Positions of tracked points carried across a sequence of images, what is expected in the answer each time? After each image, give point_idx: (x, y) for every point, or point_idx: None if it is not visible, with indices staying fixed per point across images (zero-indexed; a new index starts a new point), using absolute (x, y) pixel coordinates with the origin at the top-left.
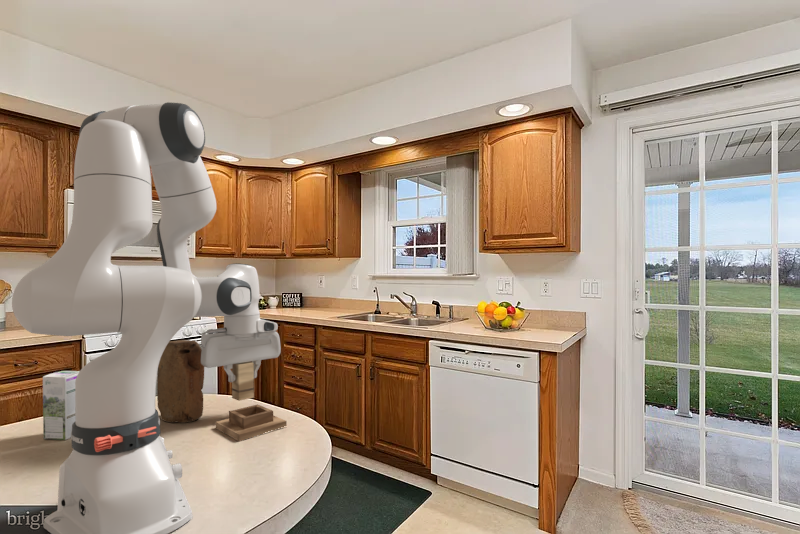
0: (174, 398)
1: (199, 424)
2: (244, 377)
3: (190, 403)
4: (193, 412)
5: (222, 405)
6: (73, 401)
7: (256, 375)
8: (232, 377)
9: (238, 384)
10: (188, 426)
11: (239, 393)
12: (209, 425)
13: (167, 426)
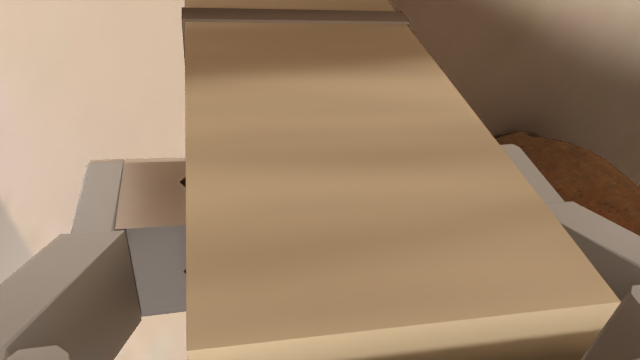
0: None
1: (515, 68)
2: (373, 111)
3: (614, 184)
4: (547, 153)
5: None
6: None
7: (91, 176)
8: (530, 177)
9: (434, 69)
10: (566, 79)
11: (385, 10)
12: (498, 3)
13: (607, 152)
